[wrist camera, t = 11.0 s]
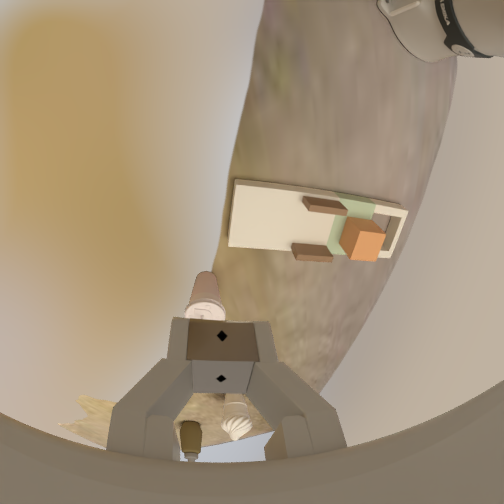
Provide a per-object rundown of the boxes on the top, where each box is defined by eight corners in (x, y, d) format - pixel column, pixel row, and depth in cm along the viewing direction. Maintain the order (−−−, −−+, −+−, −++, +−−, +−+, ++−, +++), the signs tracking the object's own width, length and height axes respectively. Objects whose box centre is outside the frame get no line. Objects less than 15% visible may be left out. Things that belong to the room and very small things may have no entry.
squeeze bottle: (195, 418, 80) (195, 464, 65) (206, 425, 85) (207, 468, 69) (175, 420, 81) (174, 465, 66) (187, 428, 85) (187, 470, 70)
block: (347, 216, 42) (360, 230, 38) (372, 220, 43) (386, 234, 39) (338, 243, 45) (350, 259, 41) (363, 245, 46) (375, 261, 41)
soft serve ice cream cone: (243, 381, 69) (249, 433, 55) (251, 394, 73) (258, 441, 60) (214, 387, 69) (217, 438, 56) (224, 399, 74) (228, 446, 60)
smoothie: (208, 258, 47) (207, 316, 35) (230, 281, 50) (235, 340, 38) (181, 277, 49) (173, 335, 37) (204, 298, 52) (202, 357, 40)
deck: (234, 178, 40) (237, 192, 35) (399, 204, 45) (419, 219, 40) (227, 237, 45) (229, 258, 40) (382, 250, 50) (398, 268, 45)
